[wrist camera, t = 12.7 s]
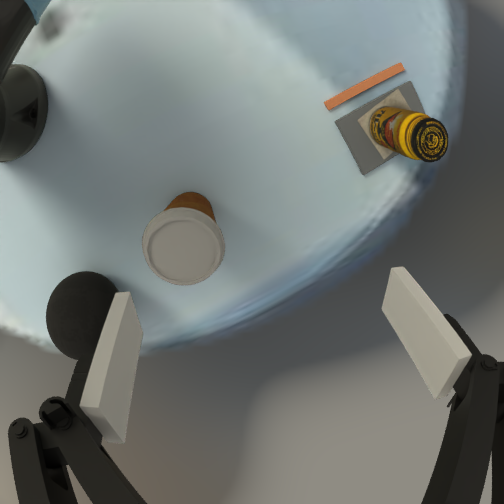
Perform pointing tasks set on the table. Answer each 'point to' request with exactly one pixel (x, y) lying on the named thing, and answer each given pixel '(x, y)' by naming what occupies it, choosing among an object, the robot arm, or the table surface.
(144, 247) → the disposable coffee cup
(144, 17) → the table surface
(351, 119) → the mat
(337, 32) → the table surface
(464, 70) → the table surface
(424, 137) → the condiment
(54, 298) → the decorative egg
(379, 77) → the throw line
